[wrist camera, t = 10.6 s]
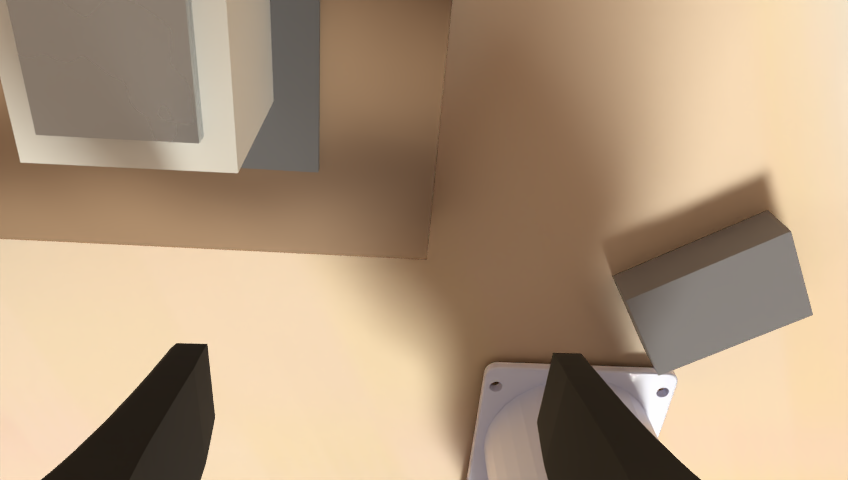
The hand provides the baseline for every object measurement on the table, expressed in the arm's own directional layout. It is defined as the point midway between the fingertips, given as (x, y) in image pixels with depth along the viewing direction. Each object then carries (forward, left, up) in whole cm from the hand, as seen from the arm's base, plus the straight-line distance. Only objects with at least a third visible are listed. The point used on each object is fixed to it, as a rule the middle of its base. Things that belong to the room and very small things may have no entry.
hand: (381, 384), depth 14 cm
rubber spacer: (-4, -12, -11) cm, 17 cm away
